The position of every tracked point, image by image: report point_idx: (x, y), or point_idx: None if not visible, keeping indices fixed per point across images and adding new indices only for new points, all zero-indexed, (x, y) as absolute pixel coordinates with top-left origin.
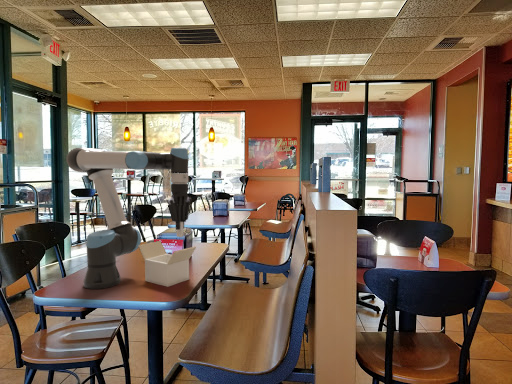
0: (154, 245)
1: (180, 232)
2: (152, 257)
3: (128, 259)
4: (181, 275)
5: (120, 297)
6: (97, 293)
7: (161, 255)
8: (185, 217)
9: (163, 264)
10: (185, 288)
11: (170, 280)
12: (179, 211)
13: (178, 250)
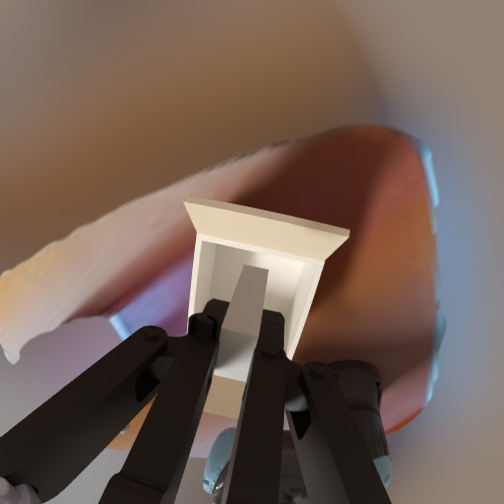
0: (211, 398)
1: (265, 289)
2: None
3: None
4: None
5: (422, 292)
6: (403, 354)
7: None
8: (160, 354)
9: (318, 278)
10: (309, 165)
11: None
12: (264, 446)
13: (317, 229)
